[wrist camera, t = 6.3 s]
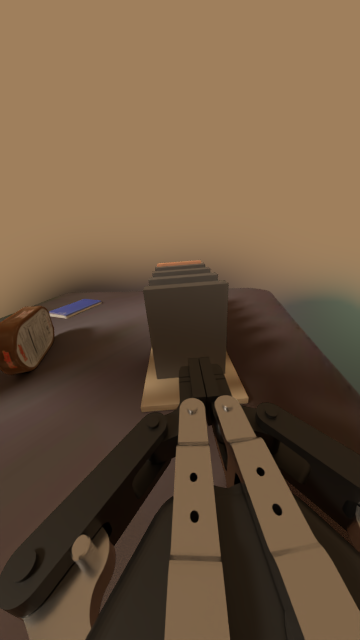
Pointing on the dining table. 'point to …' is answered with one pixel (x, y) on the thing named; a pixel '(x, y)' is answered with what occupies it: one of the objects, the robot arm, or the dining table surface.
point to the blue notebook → (74, 308)
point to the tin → (25, 339)
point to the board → (167, 390)
